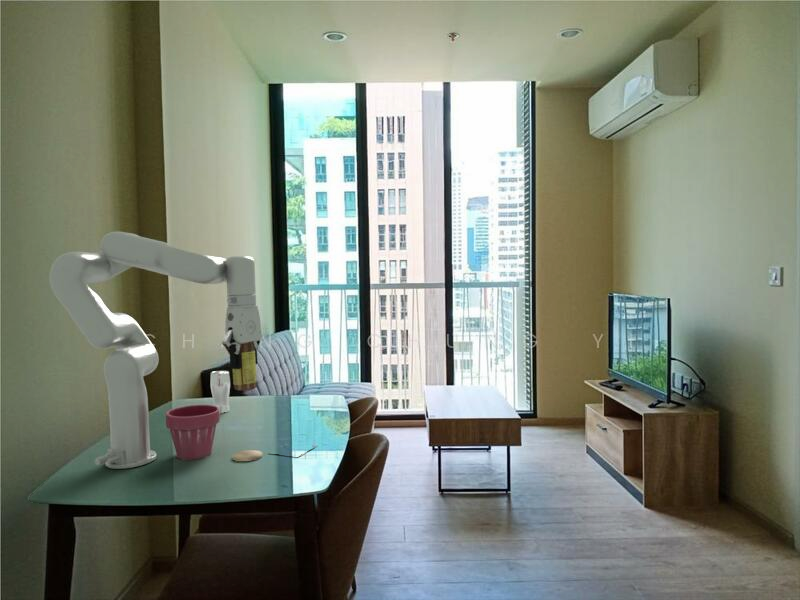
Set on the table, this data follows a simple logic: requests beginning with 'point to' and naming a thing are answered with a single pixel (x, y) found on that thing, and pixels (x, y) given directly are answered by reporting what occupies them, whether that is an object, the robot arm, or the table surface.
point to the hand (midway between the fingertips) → (244, 365)
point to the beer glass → (220, 389)
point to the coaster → (247, 455)
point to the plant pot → (193, 430)
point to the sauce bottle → (246, 368)
